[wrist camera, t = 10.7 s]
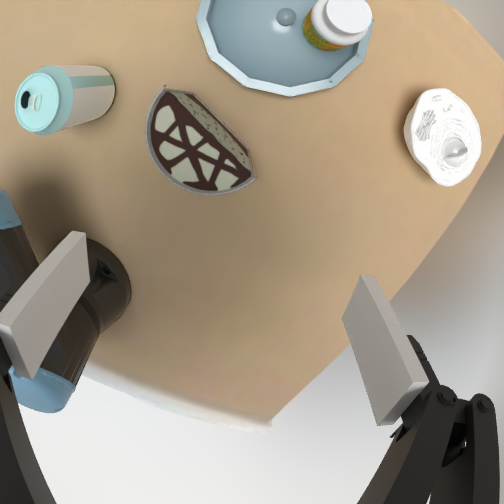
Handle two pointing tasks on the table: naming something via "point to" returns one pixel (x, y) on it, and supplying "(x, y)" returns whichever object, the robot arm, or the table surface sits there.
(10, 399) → the robot arm
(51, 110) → the can
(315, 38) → the supplement bottle
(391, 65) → the table surface
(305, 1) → the ring tray
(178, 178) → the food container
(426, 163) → the cell model
